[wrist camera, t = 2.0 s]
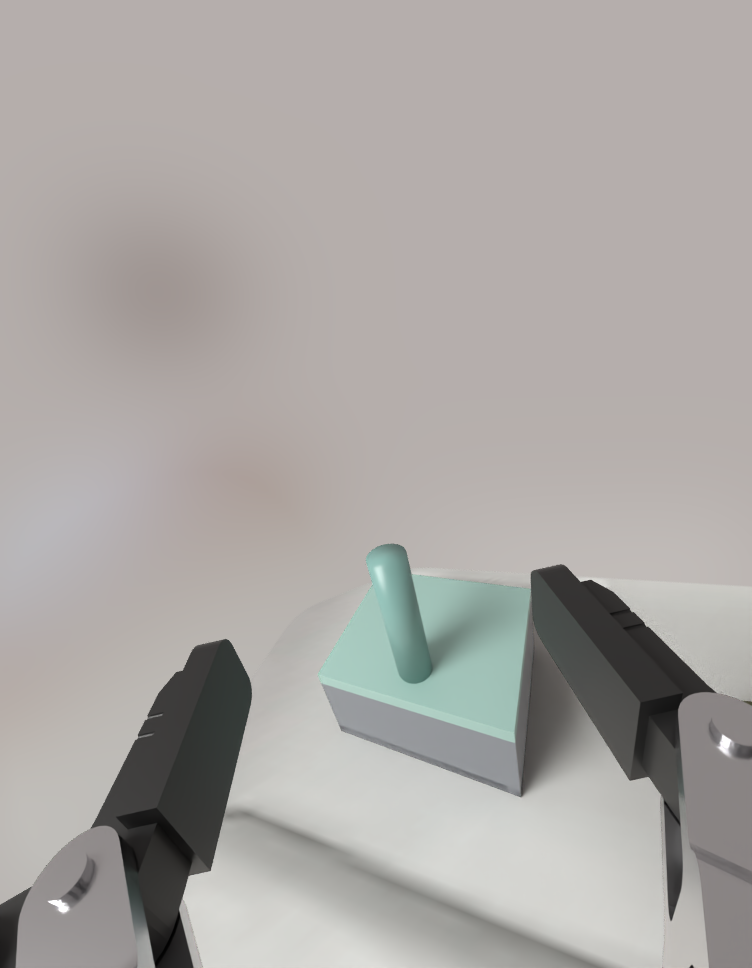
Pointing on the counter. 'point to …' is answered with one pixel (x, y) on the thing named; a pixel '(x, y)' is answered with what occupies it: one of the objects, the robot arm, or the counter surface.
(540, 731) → the counter surface
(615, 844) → the counter surface
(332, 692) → the tub
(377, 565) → the lid
